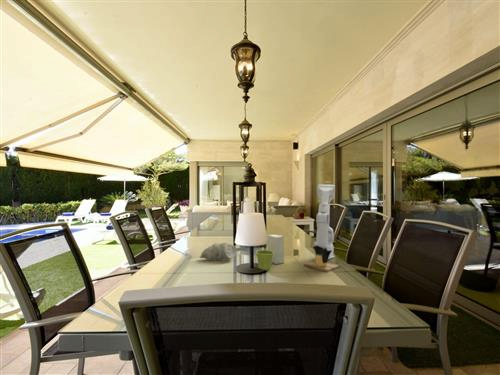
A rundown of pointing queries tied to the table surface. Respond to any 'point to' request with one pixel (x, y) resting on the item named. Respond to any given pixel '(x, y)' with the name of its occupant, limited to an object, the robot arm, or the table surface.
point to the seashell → (219, 252)
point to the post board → (322, 268)
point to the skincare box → (276, 248)
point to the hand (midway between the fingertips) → (321, 261)
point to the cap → (320, 260)
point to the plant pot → (264, 259)
